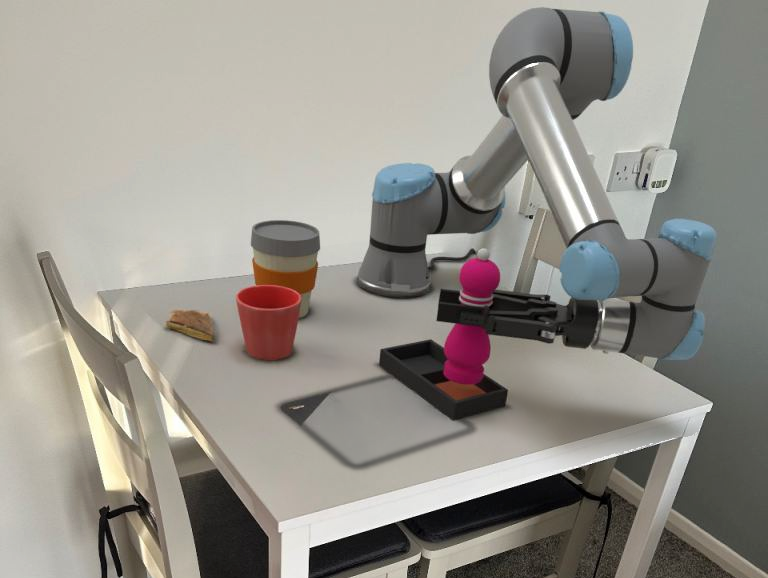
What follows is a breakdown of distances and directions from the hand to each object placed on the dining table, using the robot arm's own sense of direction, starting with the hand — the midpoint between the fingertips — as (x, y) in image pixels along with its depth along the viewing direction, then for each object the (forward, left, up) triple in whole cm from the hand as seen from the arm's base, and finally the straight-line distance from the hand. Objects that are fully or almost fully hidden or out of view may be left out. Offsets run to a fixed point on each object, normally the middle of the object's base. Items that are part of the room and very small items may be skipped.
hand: (438, 304), depth 116 cm
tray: (-4, -2, -15) cm, 16 cm away
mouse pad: (+12, +3, -16) cm, 20 cm away
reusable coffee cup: (+5, -39, -15) cm, 42 cm away
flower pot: (+16, -24, -15) cm, 33 cm away
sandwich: (+23, -37, -15) cm, 46 cm away
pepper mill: (-4, +3, -11) cm, 12 cm away
